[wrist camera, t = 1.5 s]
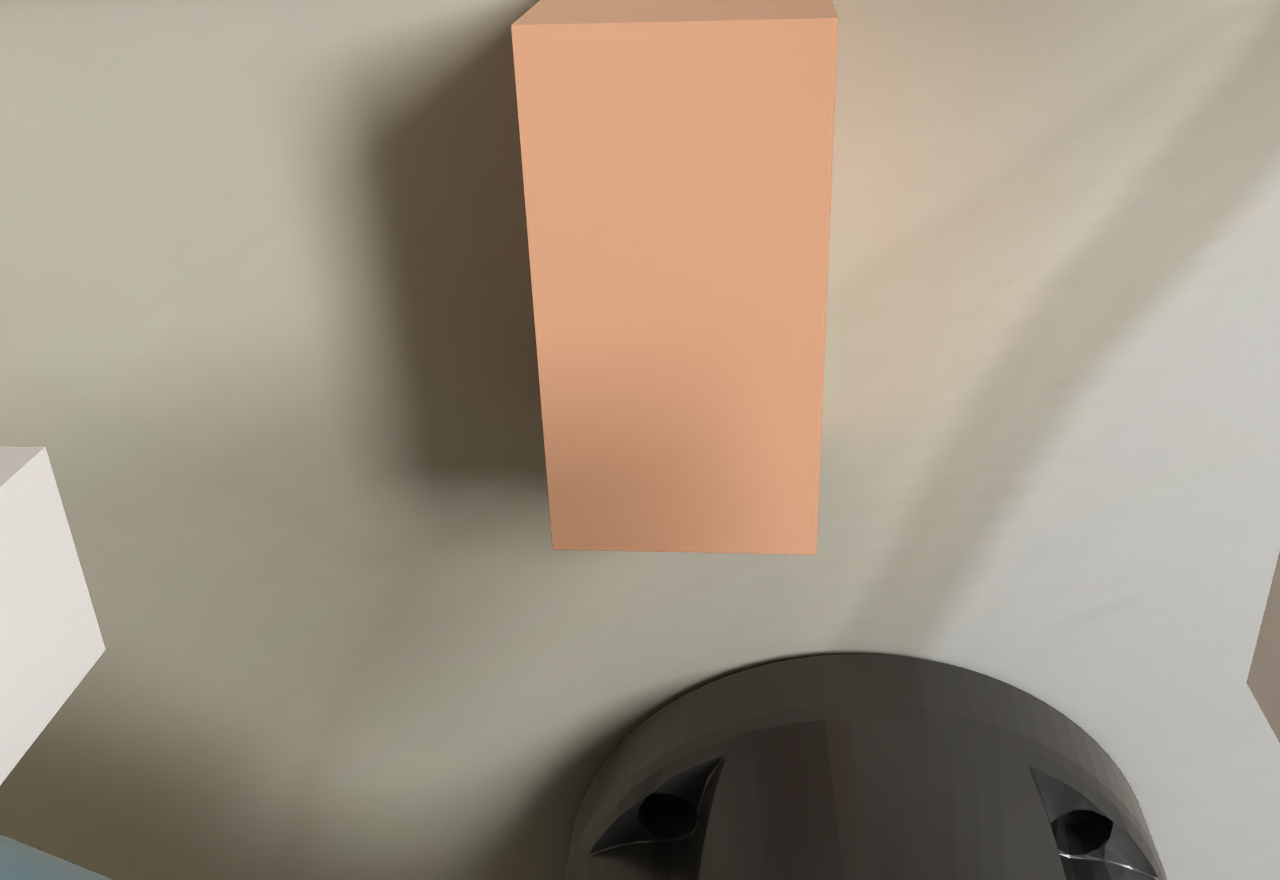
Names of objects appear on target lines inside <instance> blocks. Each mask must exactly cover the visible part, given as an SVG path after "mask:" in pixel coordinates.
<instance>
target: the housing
mask: <svg viewBox="0 0 1280 880" xmlns="http://www.w3.org/2000/svg"><path fill="white" fill-rule="evenodd" d="M511 31H512V44H513V56H514V69H515V82H516V94H517V107H518V120H519V132H520V145H521V157H522V170H523V183H524V195H525V208H526V220H527V233H528V246H529V258H530V271H531V283H532V296H533V309H534V321H535V334H536V346H537V359H538V372H539V384H540V397H541V409H542V422H543V435H544V447H545V460H546V472H547V485H548V498H549V510H550V523H551V535H552V548H553V550H601V551H654V552H706V553H759V554H812V555H817V535H818V510H819V485H820V460H821V435H822V410H823V385H824V361H825V336H826V311H827V286H828V261H829V236H830V211H831V186H832V161H833V137H834V112H835V87H836V62H837V37H838V16H837V13H836V11H835V8H834V6H833V3H832V0H539V1H538V2H537V3H536V4H535V5H534V6H533V7H531V8H530V9H529V10H528V11H527V12H526V13H524V14H523V15H522V16H521V17H520V18H519V19H518V20H516V21H515V22H514V23H513V24H512V25H511Z"/></svg>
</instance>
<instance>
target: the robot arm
mask: <svg viewBox="0 0 1280 880" xmlns="http://www.w3.org/2000/svg"><path fill="white" fill-rule="evenodd" d="M105 650H106V649H105V645H104V642H103V639H102V635H101V632H100V629H99V625H98V622H97V619H96V615H95V612H94V609H93V605H92V602H91V599H90V595H89V592H88V588H87V585H86V582H85V578H84V575H83V572H82V568H81V565H80V562H79V558H78V555H77V552H76V548H75V545H74V541H73V538H72V535H71V531H70V528H69V525H68V521H67V518H66V515H65V511H64V508H63V505H62V501H61V498H60V495H59V491H58V488H57V484H56V481H55V478H54V474H53V471H52V468H51V464H50V461H49V458H48V454H47V451H46V448H45V447H30V446H0V785H1V784H2V782H3V781H4V780H5V778H6V777H7V776H8V775H9V773H10V772H11V771H12V769H13V768H14V767H15V766H16V764H17V763H18V762H19V760H20V759H21V758H22V757H23V755H24V754H25V753H26V751H27V750H28V749H29V748H30V746H31V745H32V744H33V742H34V741H35V740H36V739H37V737H38V736H39V735H40V733H41V732H42V731H43V730H44V728H45V727H46V726H47V724H48V723H49V722H50V721H51V719H52V718H53V717H54V715H55V714H56V713H57V712H58V710H59V709H60V708H61V706H62V705H63V704H64V703H65V701H66V700H67V699H68V697H69V696H70V695H71V694H72V692H73V691H74V690H75V688H76V687H77V686H78V685H79V683H80V682H81V681H82V679H83V678H84V677H85V675H86V674H87V673H88V672H89V670H90V669H91V668H92V666H93V665H94V664H95V663H96V661H97V660H98V659H99V657H100V656H101V655H102V654H103V652H104V651H105ZM1247 684H1248V686H1249V688H1250V690H1251V692H1252V693H1253V695H1254V697H1255V699H1256V701H1257V702H1258V704H1259V706H1260V708H1261V710H1262V711H1263V713H1264V715H1265V717H1266V719H1267V721H1268V722H1269V724H1270V726H1271V728H1272V730H1273V731H1274V733H1275V735H1276V737H1277V739H1278V740H1279V742H1280V552H1279V556H1278V560H1277V564H1276V568H1275V572H1274V576H1273V580H1272V584H1271V588H1270V592H1269V596H1268V600H1267V604H1266V608H1265V612H1264V616H1263V620H1262V624H1261V628H1260V632H1259V636H1258V640H1257V644H1256V648H1255V652H1254V656H1253V660H1252V664H1251V668H1250V672H1249V676H1248V680H1247ZM0 880H113V879H111V878H108V877H106V876H103V875H101V874H98V873H96V872H93V871H91V870H88V869H86V868H83V867H81V866H78V865H76V864H73V863H71V862H68V861H66V860H63V859H61V858H58V857H56V856H53V855H51V854H48V853H46V852H43V851H41V850H39V849H36V848H34V847H31V846H29V845H26V844H24V843H21V842H19V841H16V840H14V839H11V838H9V837H6V836H2V835H0ZM564 880H1167V878H1166V874H1165V871H1164V868H1163V866H1162V863H1161V860H1160V858H1159V855H1158V853H1157V850H1156V847H1155V845H1154V842H1153V839H1152V837H1151V834H1150V831H1149V829H1148V826H1147V824H1146V821H1145V818H1144V816H1143V813H1142V811H1141V808H1140V805H1139V803H1138V800H1137V798H1136V796H1135V794H1134V792H1133V790H1132V788H1131V786H1130V785H1129V783H1128V781H1127V780H1126V778H1125V777H1124V775H1123V774H1122V772H1121V770H1120V769H1119V768H1118V767H1117V765H1116V764H1115V763H1114V761H1113V760H1112V759H1111V757H1110V756H1109V755H1108V754H1107V753H1106V752H1105V751H1104V750H1103V749H1102V747H1101V746H1100V745H1099V744H1098V743H1097V742H1096V741H1095V740H1094V739H1093V738H1092V737H1091V736H1089V735H1088V734H1087V733H1086V732H1085V731H1084V730H1083V729H1082V728H1081V727H1079V726H1078V725H1077V724H1075V723H1074V722H1073V721H1071V720H1070V719H1069V718H1068V717H1066V716H1065V715H1064V714H1062V713H1060V712H1059V711H1057V710H1056V709H1054V708H1053V707H1051V706H1050V705H1048V704H1047V703H1045V702H1043V701H1041V700H1039V699H1038V698H1036V697H1034V696H1032V695H1030V694H1029V693H1027V692H1025V691H1022V690H1020V689H1018V688H1016V687H1014V686H1012V685H1009V684H1007V683H1005V682H1002V681H1000V680H997V679H994V678H992V677H989V676H987V675H984V674H980V673H977V672H974V671H971V670H968V669H964V668H961V667H957V666H952V665H948V664H944V663H940V662H934V661H929V660H923V659H918V658H910V657H901V656H893V655H875V654H839V655H823V656H813V657H805V658H797V659H791V660H786V661H781V662H775V663H771V664H767V665H763V666H759V667H755V668H751V669H747V670H744V671H741V672H738V673H735V674H732V675H729V676H726V677H724V678H721V679H718V680H716V681H713V682H711V683H708V684H706V685H704V686H702V687H700V688H698V689H696V690H693V691H691V692H689V693H687V694H686V695H684V696H682V697H680V698H678V699H677V700H675V701H673V702H671V703H670V704H668V705H667V706H665V707H664V708H662V709H661V710H659V711H658V712H656V713H655V714H653V715H652V716H651V717H649V718H648V719H647V720H645V721H644V722H643V723H641V724H640V725H639V726H638V727H637V728H636V729H634V730H633V731H632V732H631V733H630V734H629V735H628V736H627V737H626V738H625V739H624V740H623V741H622V742H621V743H620V744H619V745H618V746H617V747H616V748H615V749H614V750H613V751H612V753H611V754H610V755H609V756H608V758H607V759H606V760H605V762H604V763H603V764H602V765H601V767H600V768H599V770H598V771H597V773H596V775H595V776H594V778H593V779H592V781H591V783H590V785H589V787H588V789H587V791H586V793H585V795H584V797H583V799H582V802H581V804H580V807H579V809H578V813H577V816H576V820H575V823H574V827H573V833H572V839H571V844H570V850H569V855H568V861H567V867H566V872H565V878H564Z"/></svg>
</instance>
